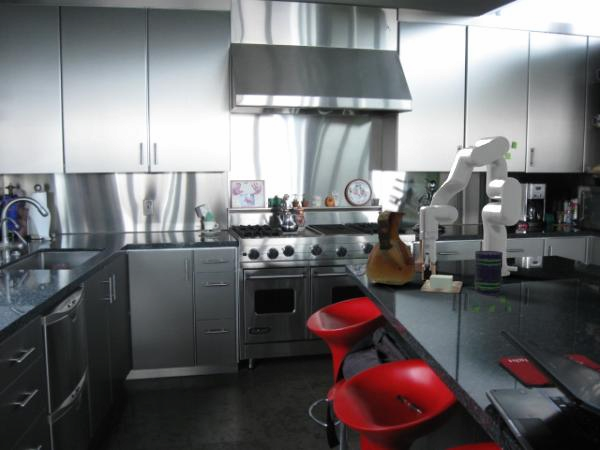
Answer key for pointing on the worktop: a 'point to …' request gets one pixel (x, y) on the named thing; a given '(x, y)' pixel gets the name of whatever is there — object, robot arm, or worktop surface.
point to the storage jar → (488, 272)
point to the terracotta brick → (431, 269)
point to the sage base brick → (441, 281)
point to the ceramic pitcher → (390, 253)
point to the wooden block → (419, 259)
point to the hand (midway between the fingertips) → (428, 278)
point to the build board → (455, 288)
